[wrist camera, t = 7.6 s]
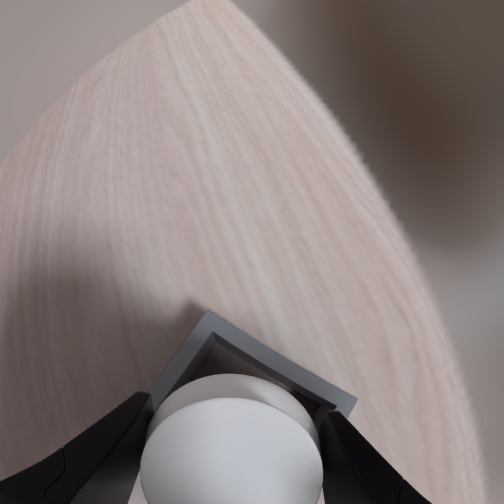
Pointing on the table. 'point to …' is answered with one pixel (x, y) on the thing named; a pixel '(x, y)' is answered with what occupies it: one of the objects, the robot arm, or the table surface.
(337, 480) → the robot arm
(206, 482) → the pill bottle
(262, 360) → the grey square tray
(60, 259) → the table surface
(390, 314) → the table surface
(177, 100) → the table surface
